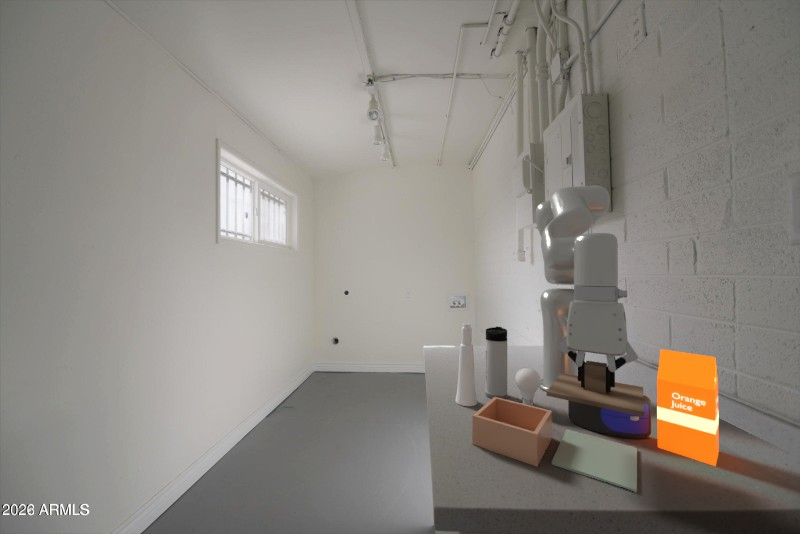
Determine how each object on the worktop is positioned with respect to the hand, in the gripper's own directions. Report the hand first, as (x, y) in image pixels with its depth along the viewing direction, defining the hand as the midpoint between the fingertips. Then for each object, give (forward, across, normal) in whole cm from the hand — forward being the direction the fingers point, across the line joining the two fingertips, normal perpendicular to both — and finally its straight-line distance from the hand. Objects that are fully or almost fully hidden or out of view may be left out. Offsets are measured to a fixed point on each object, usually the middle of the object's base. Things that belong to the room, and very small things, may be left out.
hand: (595, 386), depth 63 cm
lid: (+2, 0, 0) cm, 2 cm away
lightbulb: (+14, +17, -15) cm, 27 cm away
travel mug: (+14, +27, -19) cm, 36 cm away
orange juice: (+14, -15, -15) cm, 26 cm away
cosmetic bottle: (+14, +32, -9) cm, 36 cm away
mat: (+14, 0, 0) cm, 14 cm away
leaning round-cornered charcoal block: (+14, -1, -15) cm, 21 cm away
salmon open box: (+14, +15, +4) cm, 21 cm away
